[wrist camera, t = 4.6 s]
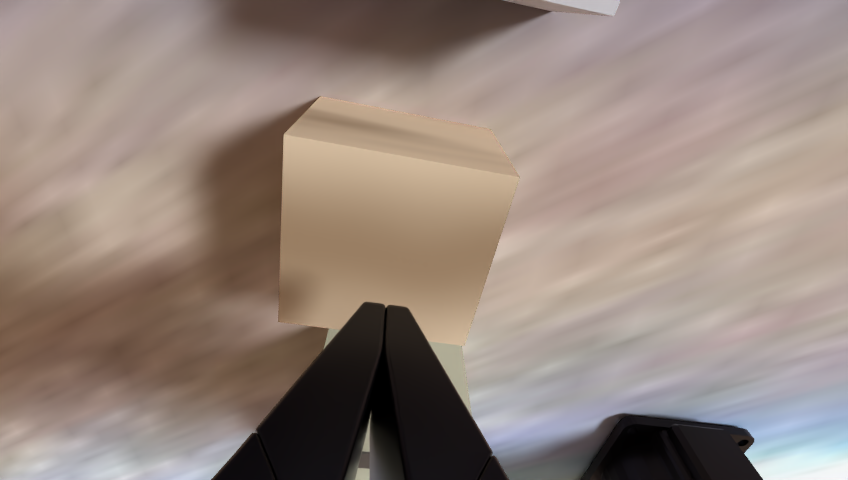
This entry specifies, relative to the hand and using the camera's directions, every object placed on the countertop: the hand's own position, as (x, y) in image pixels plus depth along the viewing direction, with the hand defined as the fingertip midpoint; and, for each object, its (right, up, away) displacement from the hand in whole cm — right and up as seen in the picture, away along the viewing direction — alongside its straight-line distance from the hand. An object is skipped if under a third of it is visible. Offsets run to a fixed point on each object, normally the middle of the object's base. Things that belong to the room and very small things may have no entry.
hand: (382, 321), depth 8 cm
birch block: (0, +3, +5) cm, 6 cm away
